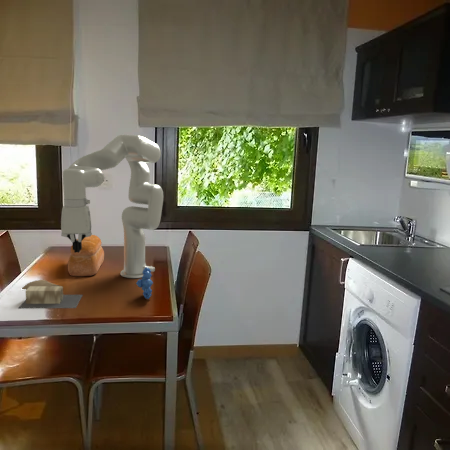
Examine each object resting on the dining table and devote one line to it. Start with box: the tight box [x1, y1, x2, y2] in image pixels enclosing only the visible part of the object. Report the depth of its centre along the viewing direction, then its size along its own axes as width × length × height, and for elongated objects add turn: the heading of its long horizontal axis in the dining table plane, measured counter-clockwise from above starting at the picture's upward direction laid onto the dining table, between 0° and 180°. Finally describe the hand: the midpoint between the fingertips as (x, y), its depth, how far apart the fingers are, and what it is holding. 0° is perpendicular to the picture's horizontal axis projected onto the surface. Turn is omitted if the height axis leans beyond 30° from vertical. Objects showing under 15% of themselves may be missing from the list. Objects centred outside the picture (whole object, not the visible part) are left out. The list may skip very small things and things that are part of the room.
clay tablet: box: [21, 279, 60, 291], centre depth 179 cm, size 14×10×3 cm
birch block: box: [25, 285, 64, 304], centre depth 164 cm, size 5×5×12 cm
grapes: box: [135, 267, 154, 300], centre depth 173 cm, size 12×7×12 cm, turn 14°
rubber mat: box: [18, 294, 84, 309], centre depth 165 cm, size 20×14×1 cm
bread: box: [67, 234, 105, 277], centre depth 207 cm, size 14×26×15 cm, turn 7°
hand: (77, 251), depth 163 cm, fingers closed
